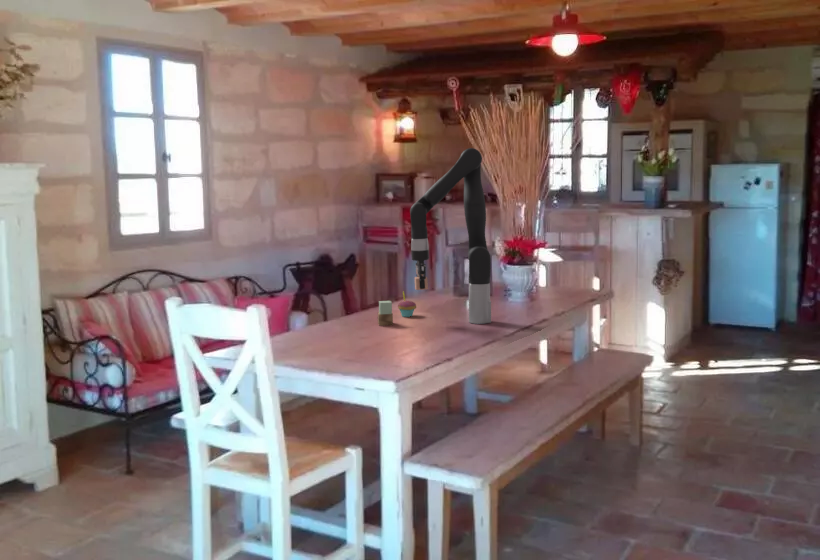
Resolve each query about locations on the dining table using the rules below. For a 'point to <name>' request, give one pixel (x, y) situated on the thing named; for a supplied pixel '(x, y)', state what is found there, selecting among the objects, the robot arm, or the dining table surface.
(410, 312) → the cupcake
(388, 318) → the walnut base
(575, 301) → the dining table surface
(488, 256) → the robot arm
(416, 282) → the tan block
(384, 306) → the sage block
